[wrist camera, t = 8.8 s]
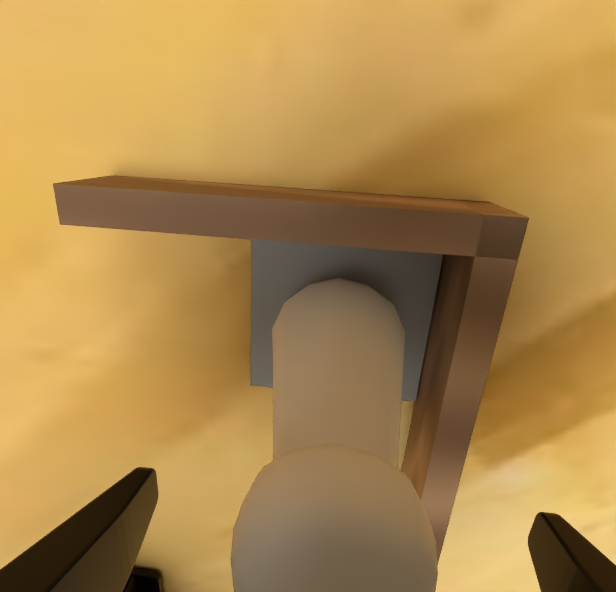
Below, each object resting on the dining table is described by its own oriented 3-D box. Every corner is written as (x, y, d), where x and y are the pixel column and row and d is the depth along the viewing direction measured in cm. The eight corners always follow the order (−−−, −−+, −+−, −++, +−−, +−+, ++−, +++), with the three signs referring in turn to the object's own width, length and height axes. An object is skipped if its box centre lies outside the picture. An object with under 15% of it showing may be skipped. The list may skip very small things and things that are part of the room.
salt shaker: (310, 243, 18) (247, 440, 6) (420, 295, 19) (568, 576, 6) (262, 343, 20) (143, 641, 8) (362, 388, 21) (390, 733, 9)
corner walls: (418, 516, 24) (432, 584, 20) (148, 486, 25) (115, 545, 21) (488, 201, 17) (528, 217, 13) (112, 175, 18) (53, 183, 14)
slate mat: (414, 396, 21) (415, 401, 21) (252, 381, 22) (250, 385, 21) (444, 235, 18) (446, 237, 17) (253, 221, 18) (251, 222, 18)
